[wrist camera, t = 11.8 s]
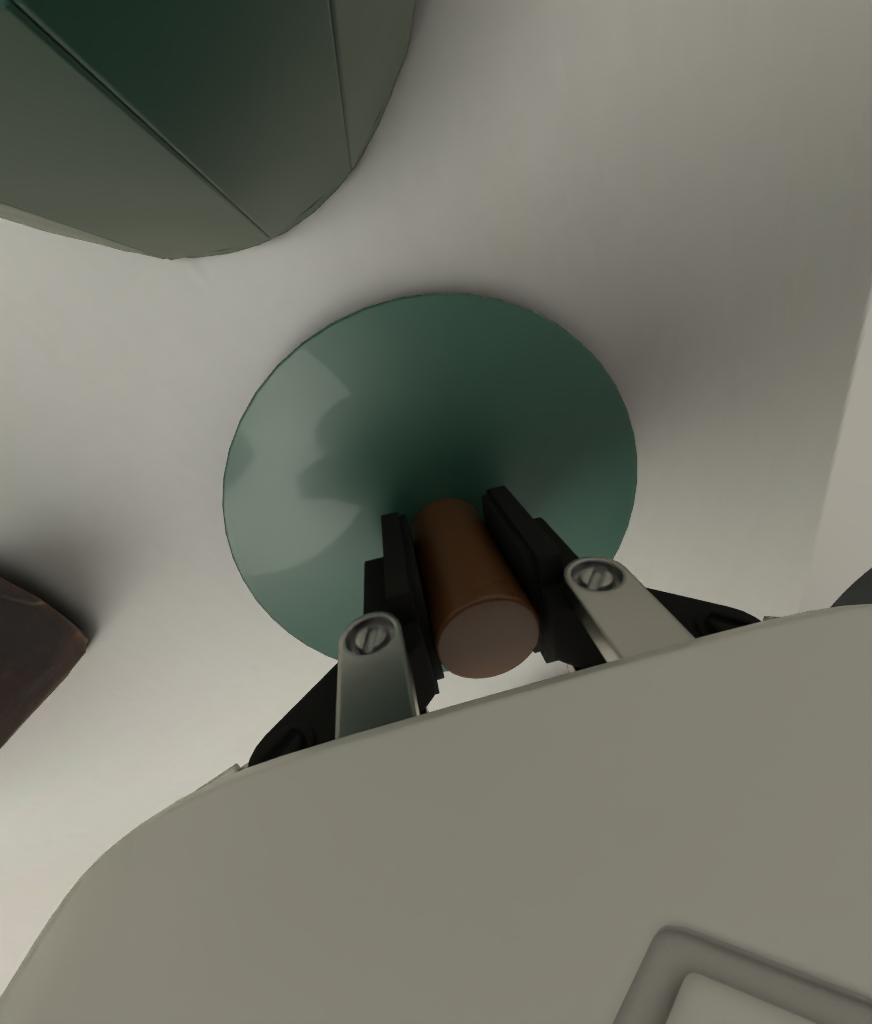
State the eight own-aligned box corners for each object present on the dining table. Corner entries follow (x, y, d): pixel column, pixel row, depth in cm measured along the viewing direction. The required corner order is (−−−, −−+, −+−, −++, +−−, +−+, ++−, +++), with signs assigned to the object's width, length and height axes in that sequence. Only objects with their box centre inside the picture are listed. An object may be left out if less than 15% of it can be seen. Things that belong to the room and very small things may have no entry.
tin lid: (629, 250, 11) (901, 169, 5) (612, 607, 17) (726, 737, 12) (143, 354, 10) (-135, 386, 4) (317, 687, 16) (291, 867, 11)
